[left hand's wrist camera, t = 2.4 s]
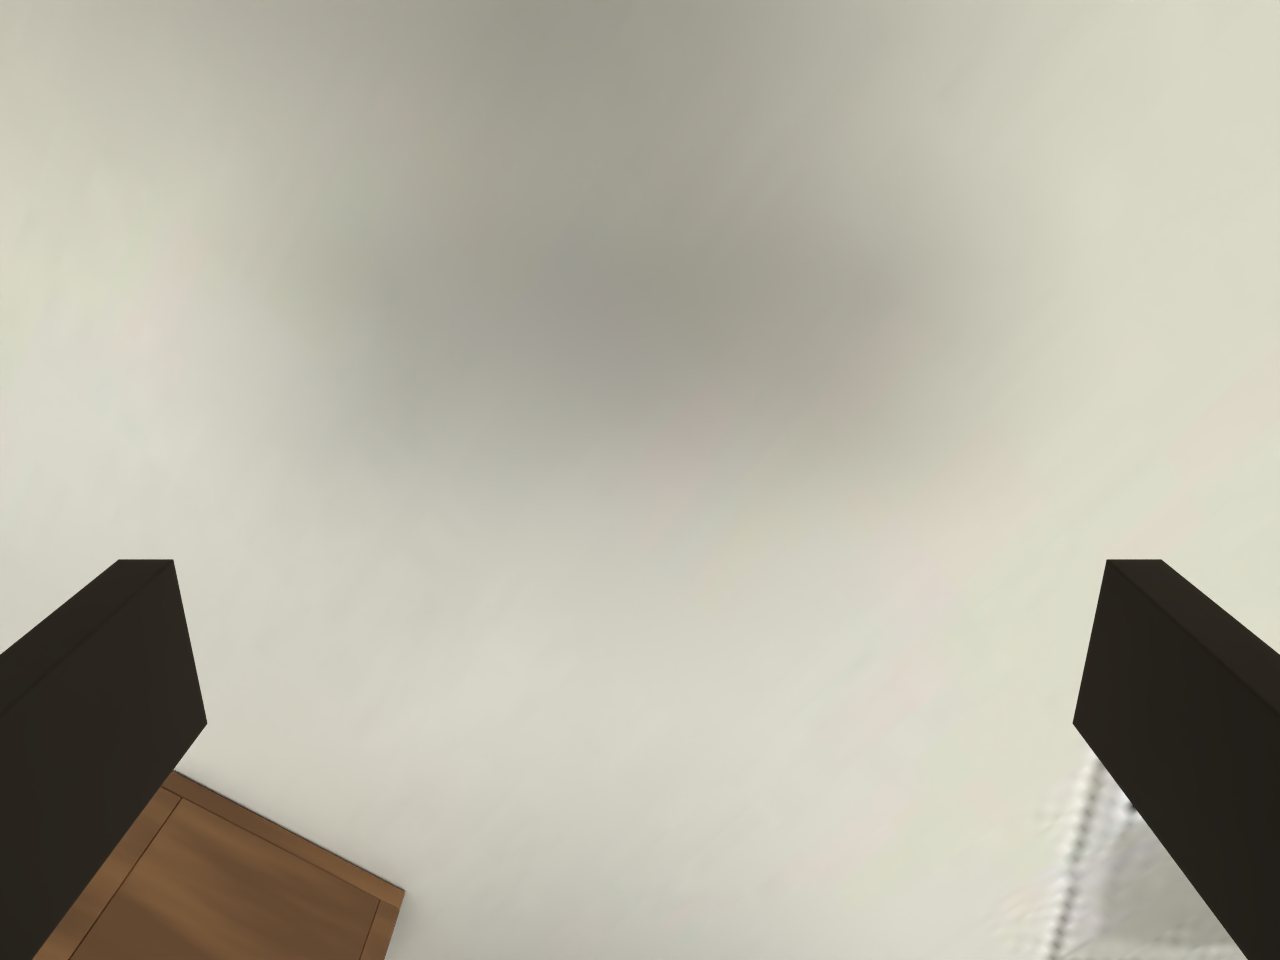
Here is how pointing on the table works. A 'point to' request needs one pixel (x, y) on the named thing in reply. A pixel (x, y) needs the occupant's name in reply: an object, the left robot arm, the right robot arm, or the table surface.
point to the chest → (223, 891)
